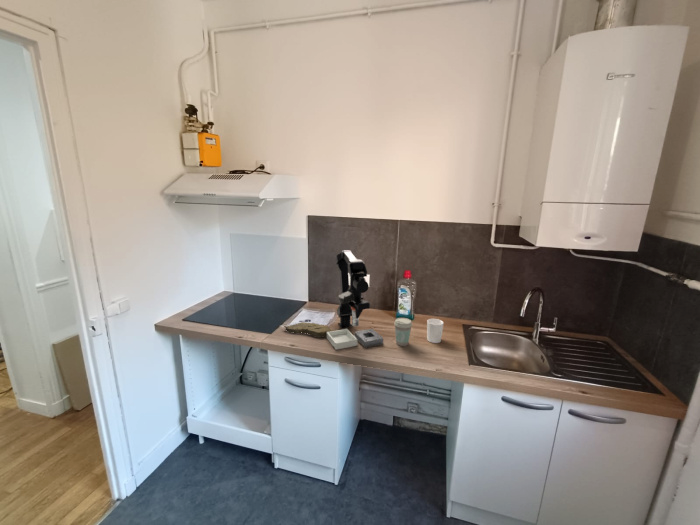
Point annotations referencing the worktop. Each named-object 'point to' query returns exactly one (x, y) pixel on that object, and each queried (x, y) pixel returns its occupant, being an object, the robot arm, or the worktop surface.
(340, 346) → the parts tray
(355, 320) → the grey copper-tipped cylinder
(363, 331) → the block
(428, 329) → the white cup
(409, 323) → the coffee cup
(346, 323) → the robot arm
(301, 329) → the stone slab
